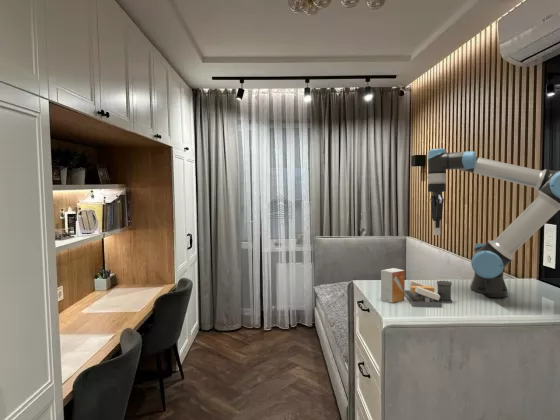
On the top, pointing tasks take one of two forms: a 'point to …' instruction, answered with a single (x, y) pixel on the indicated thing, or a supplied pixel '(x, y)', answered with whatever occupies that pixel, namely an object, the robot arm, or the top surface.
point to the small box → (392, 285)
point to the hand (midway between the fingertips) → (436, 234)
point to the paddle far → (415, 283)
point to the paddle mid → (430, 288)
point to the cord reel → (444, 291)
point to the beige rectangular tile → (427, 293)
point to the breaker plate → (421, 300)
